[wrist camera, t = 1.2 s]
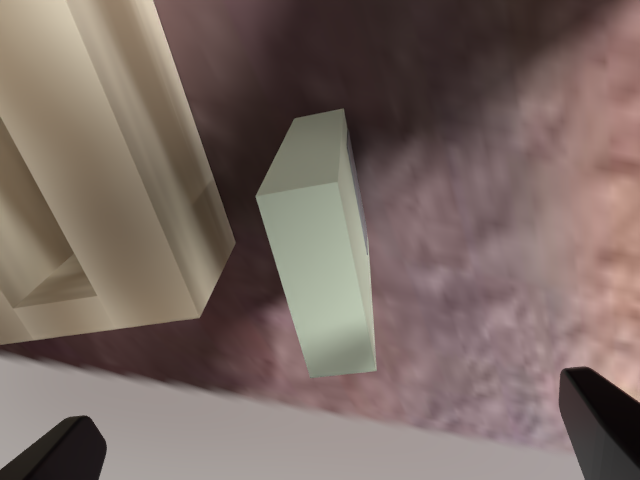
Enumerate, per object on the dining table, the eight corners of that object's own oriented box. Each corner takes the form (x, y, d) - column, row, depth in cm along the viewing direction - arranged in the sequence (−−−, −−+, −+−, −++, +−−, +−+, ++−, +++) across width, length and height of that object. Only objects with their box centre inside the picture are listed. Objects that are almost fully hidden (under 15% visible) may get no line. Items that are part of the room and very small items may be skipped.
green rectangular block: (344, 108, 17) (339, 181, 10) (369, 240, 20) (378, 370, 13) (293, 118, 18) (253, 196, 11) (323, 248, 20) (309, 378, 13)
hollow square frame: (142, -29, 15) (47, -43, 11) (235, 243, 20) (199, 317, 16) (-95, 36, 17) (-272, 49, 12) (45, 273, 22) (-41, 350, 17)
